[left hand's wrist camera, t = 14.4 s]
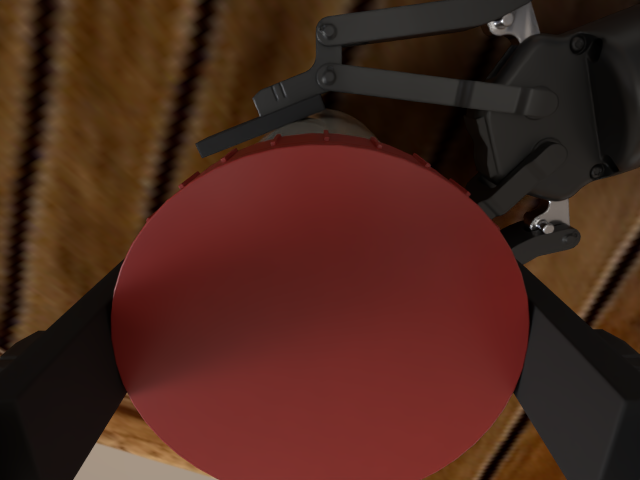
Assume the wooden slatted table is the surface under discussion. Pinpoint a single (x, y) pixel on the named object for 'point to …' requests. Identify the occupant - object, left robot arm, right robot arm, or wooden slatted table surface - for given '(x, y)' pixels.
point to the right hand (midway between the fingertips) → (244, 230)
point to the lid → (320, 315)
